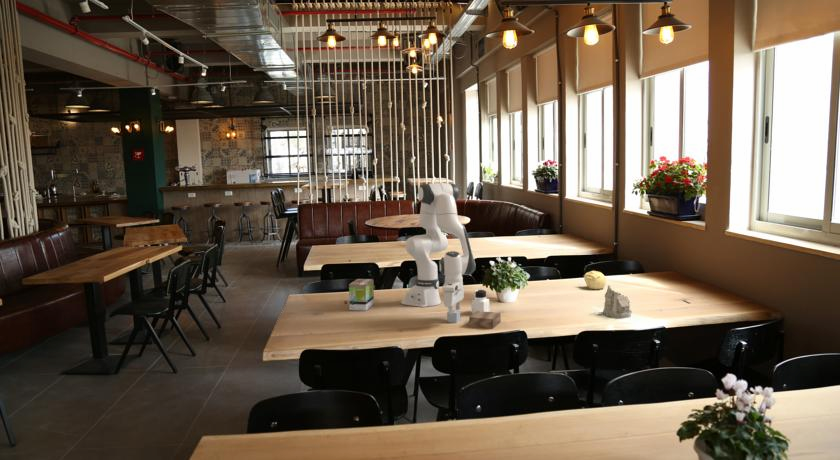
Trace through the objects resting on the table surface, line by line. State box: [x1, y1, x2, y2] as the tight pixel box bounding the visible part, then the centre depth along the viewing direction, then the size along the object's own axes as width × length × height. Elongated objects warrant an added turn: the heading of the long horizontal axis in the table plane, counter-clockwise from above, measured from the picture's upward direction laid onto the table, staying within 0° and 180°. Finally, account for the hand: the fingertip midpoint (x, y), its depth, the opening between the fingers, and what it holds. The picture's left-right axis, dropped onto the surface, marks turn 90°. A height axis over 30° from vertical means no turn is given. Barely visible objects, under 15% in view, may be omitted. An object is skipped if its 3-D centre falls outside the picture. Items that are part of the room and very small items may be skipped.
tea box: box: [348, 278, 375, 312], centre depth 337 cm, size 15×10×15 cm
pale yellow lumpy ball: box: [583, 270, 607, 290], centre depth 367 cm, size 12×12×11 cm
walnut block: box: [468, 311, 502, 329], centre depth 298 cm, size 12×12×5 cm
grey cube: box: [446, 309, 461, 324], centre depth 305 cm, size 5×5×5 cm
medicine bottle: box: [470, 289, 490, 315], centre depth 319 cm, size 7×7×12 cm
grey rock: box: [602, 284, 633, 319], centre depth 310 cm, size 16×16×15 cm
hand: (454, 311), depth 304 cm, fingers open, 8 cm apart
